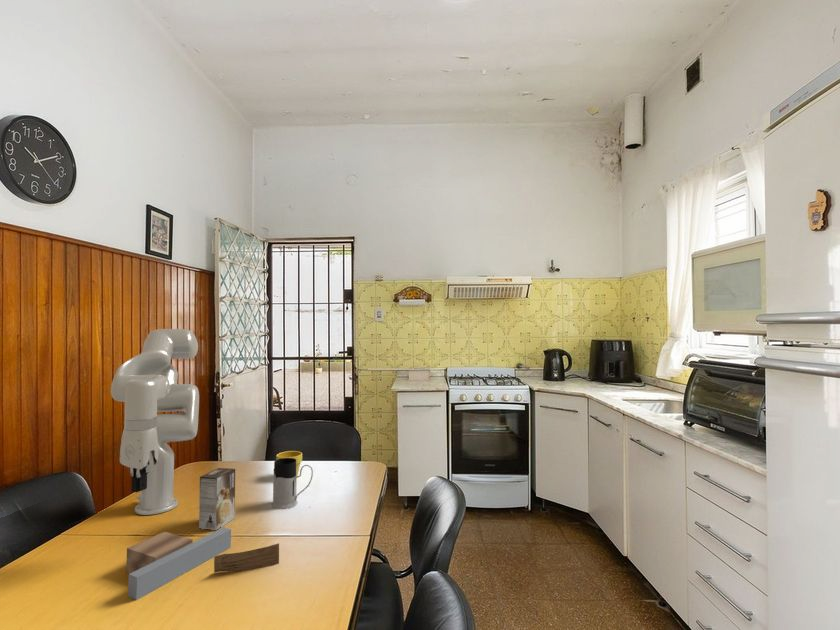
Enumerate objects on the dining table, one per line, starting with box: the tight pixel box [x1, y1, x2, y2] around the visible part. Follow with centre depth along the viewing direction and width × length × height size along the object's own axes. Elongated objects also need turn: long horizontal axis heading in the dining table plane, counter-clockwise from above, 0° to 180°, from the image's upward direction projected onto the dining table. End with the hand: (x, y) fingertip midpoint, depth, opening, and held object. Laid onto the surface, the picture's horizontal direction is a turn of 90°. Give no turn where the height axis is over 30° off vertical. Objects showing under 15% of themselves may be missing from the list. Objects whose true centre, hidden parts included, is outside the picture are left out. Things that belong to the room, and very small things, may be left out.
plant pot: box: [275, 450, 303, 476], centre depth 177 cm, size 10×10×10 cm
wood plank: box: [213, 542, 280, 573], centre depth 109 cm, size 15×2×5 cm, turn 113°
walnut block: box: [125, 531, 194, 574], centre depth 110 cm, size 11×10×6 cm
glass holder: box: [271, 458, 314, 510], centre depth 150 cm, size 9×14×15 cm, turn 88°
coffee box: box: [198, 467, 236, 531], centre depth 134 cm, size 9×6×16 cm
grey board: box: [127, 526, 232, 601], centre depth 108 cm, size 3×26×5 cm, turn 156°
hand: (139, 490), depth 118 cm, fingers closed
